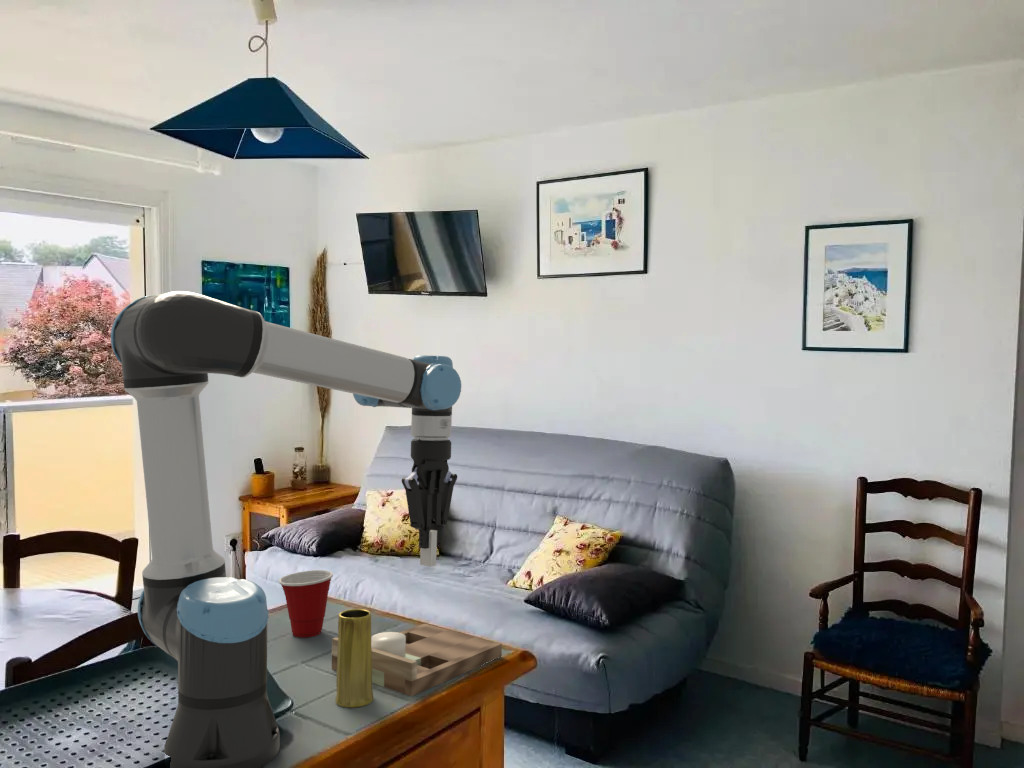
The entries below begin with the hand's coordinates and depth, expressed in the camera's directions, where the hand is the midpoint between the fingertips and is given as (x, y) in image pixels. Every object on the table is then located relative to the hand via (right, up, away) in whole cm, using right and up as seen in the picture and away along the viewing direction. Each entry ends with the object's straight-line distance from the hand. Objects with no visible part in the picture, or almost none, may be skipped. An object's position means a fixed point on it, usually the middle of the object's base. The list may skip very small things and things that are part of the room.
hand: (428, 564), depth 152 cm
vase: (-10, -18, -19) cm, 28 cm away
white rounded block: (-6, -15, -7) cm, 18 cm away
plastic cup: (-27, -18, +15) cm, 35 cm away
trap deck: (-2, -18, -2) cm, 18 cm away
